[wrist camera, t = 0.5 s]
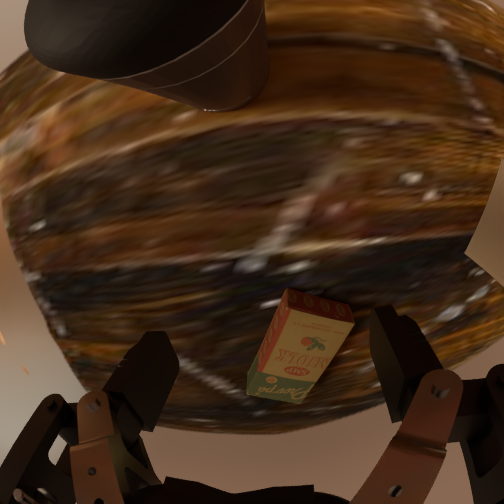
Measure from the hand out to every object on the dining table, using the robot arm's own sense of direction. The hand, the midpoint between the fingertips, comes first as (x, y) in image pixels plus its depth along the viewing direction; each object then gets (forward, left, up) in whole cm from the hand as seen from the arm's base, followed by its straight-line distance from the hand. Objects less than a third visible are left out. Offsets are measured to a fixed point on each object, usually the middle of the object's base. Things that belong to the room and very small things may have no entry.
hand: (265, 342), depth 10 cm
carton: (+18, -1, -19) cm, 26 cm away
